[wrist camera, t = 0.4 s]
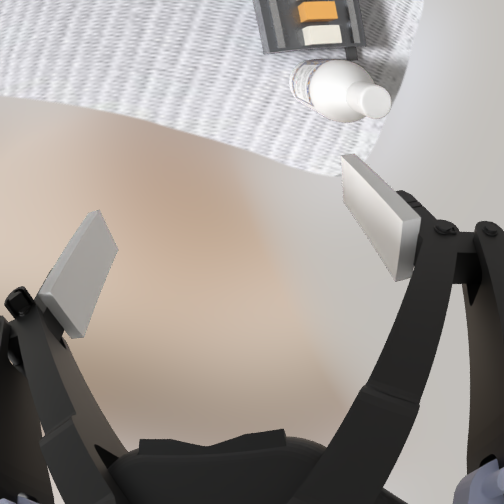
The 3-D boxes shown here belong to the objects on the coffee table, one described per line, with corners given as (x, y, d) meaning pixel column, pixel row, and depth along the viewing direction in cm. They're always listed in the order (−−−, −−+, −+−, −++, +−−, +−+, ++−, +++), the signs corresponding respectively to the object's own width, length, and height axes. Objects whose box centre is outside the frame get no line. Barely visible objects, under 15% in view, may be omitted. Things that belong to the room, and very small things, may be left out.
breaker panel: (247, -23, 28) (251, -37, 22) (334, -27, 27) (351, -39, 22) (264, 54, 35) (270, 52, 29) (348, 47, 34) (368, 46, 29)
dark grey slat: (327, -38, 26) (330, -41, 25) (335, -38, 26) (338, -40, 25) (346, 60, 35) (349, 60, 34) (354, 60, 35) (357, 60, 34)
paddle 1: (297, 6, 26) (303, 1, 24) (326, 5, 26) (334, 1, 24) (300, 22, 28) (307, 19, 25) (329, 21, 27) (338, 18, 25)
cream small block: (302, 28, 28) (308, 26, 26) (330, 27, 28) (339, 24, 25) (305, 45, 29) (311, 44, 27) (333, 43, 29) (342, 42, 27)
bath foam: (346, 82, 37) (426, 105, 21) (315, 115, 40) (376, 158, 24) (310, 49, 34) (374, 44, 18) (278, 84, 37) (318, 102, 21)
